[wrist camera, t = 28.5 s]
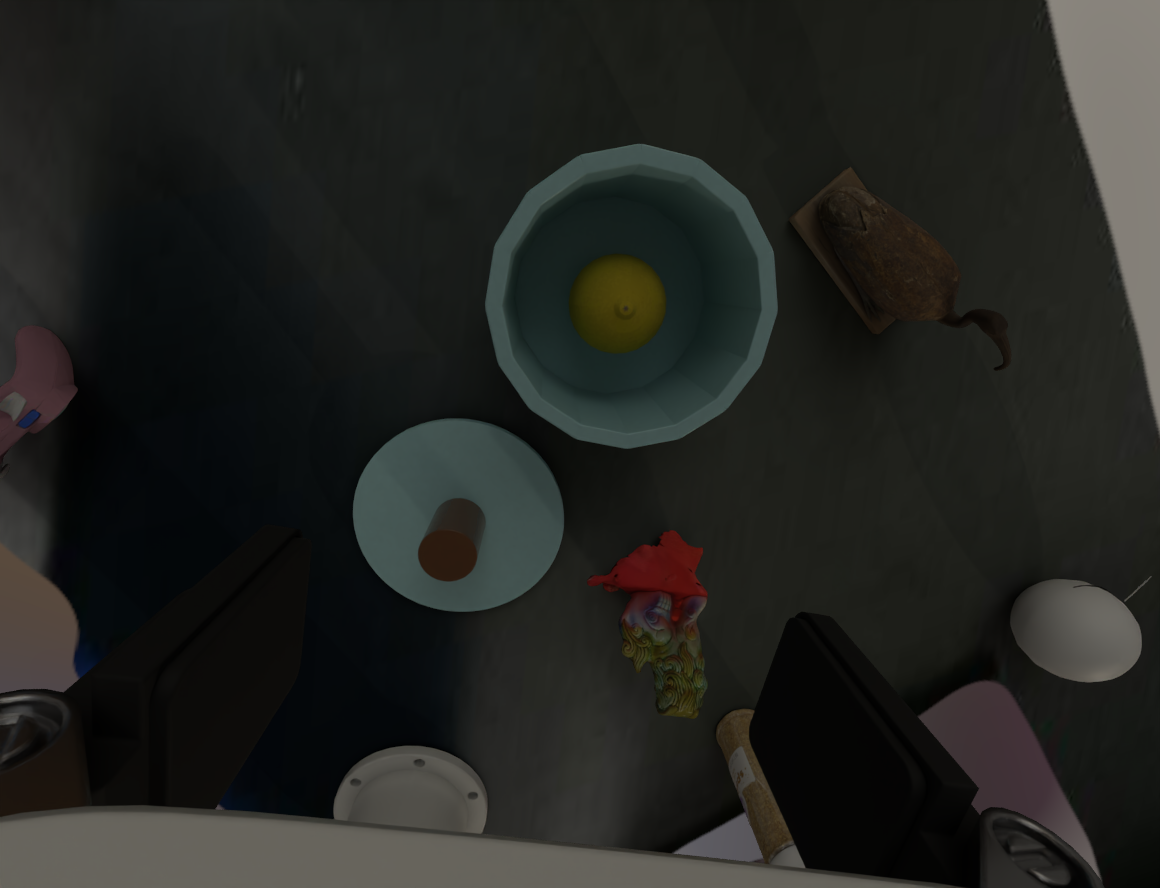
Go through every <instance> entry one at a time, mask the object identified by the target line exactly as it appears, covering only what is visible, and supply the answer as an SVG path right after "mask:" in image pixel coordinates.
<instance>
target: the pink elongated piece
mask: <svg viewBox="0 0 1160 888" xmlns="http://www.w3.org/2000/svg"><path fill="white" fill-rule="evenodd" d="M15 348H16V369H15V373H14V375H13V377H12V378H11V380H9V381H8V382H7V383H5V384H4V385H3V386H1V387H0V478H3V477H4V476H5V475H6V474H7V473H8V471H9V468H10V467H9V466H10V464H6V465H5V466H4V467H3V468H2V464H3V458H4V455H5V454H6V453H7V452H8V450H9V449H10V448H11V447H12V446H13V445H14V444H15V443H16V442H17V441H18V440H19V439H20V438H21V437H22V436H23V435H25V434H26V433H27V432H28V431H29V432H31V433H33V434H35V433H37V432H39V431H41V430H42V429H43V428H45V427H46V426H47V425H48V424H49V423H50V422H51V421H52V420H54V419H56V418H57V417H58V416H59V415H60V414H61V413H62V412H63V411H64V410H65V408H66V407H67V405H68V403H69V402H70V401H71V399H72V398H73V397H74V396H75V394H76V392H77V391H78V388H77V387H76V386H75V385H74V376H73V366H72V362H71V359H70V356H69V354H68V351H67V350H66V348H65V346H64V344H63V343H62V342H61V340H60V339H59V338H58V337H57V336H56V335H55V334H54V333H53V332H51V331H50V330H48V329H45V328H42V327H39V326H34V325H31V326H25V327H23V328H21V329H19V331H18V333H17V335H16V337H15Z"/></svg>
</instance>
